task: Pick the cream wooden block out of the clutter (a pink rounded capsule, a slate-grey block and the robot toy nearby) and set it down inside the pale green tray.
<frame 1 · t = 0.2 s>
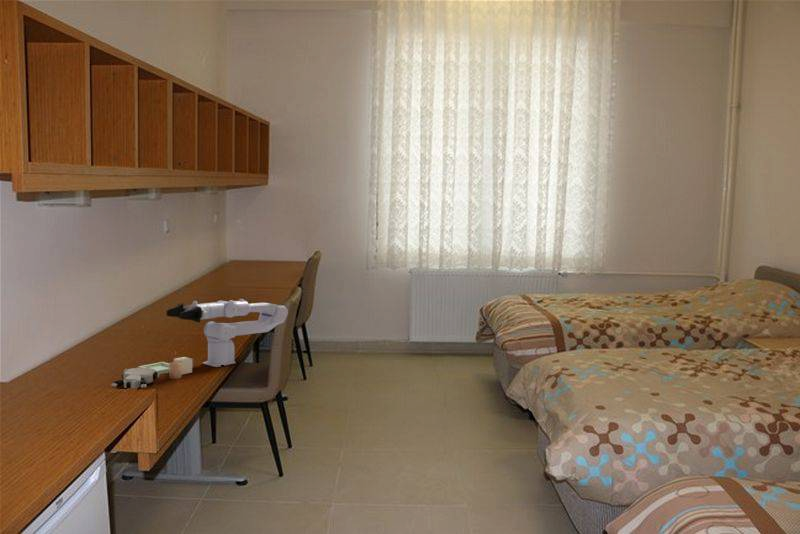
hand: (173, 314, 249), 21 cm above the table, tool horizontal, fingers open, 7 cm apart
tray: (158, 370, 254), on the table
slate block: (185, 368, 259), on the table
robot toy: (136, 386, 234), on the table
cream block: (182, 372, 253), on the table
pink rounded capsule: (175, 377, 246), on the table
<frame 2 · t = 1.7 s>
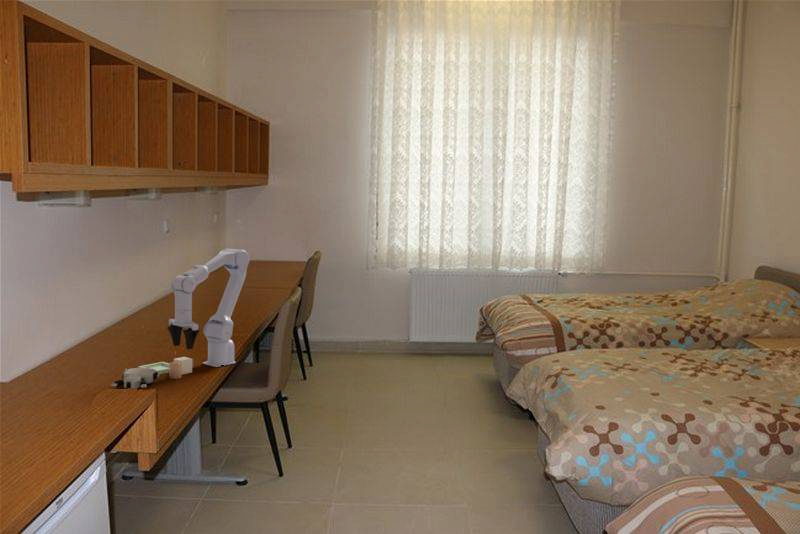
hand: (183, 347, 252), 9 cm above the table, tool pointing down, fingers open, 7 cm apart
nothing on the table moved.
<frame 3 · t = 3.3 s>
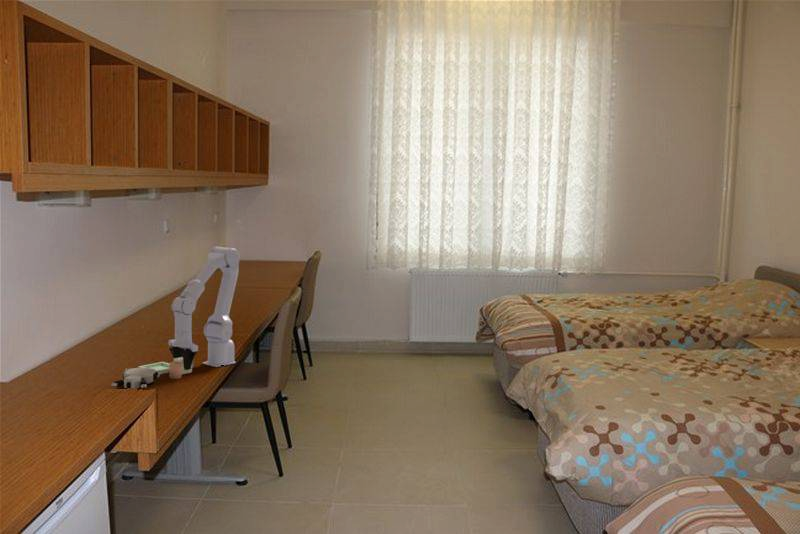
hand: (183, 368, 253), 1 cm above the table, tool pointing down, fingers closed on cream block, 4 cm apart
cream block: (182, 372, 253), on the table, touching gripper
everything else where it was.
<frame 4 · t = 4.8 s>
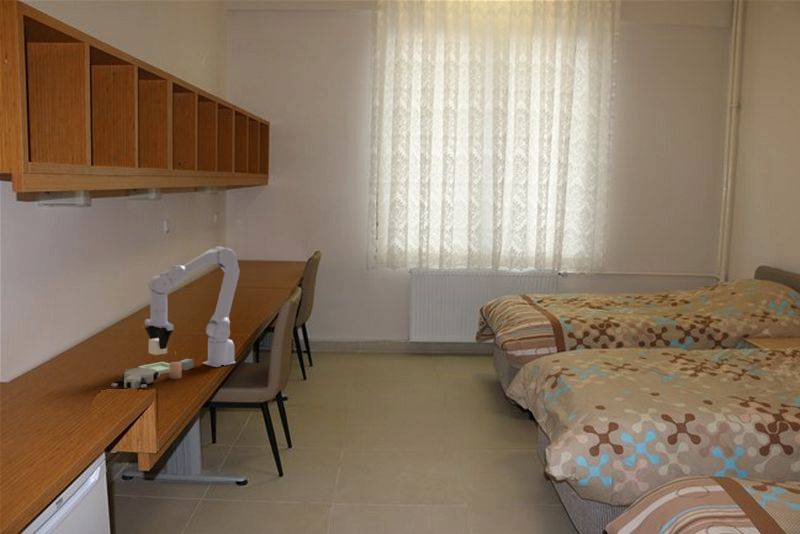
hand: (158, 347, 254), 8 cm above the table, tool pointing down, fingers closed on cream block, 4 cm apart
cream block: (157, 353, 253), point 6 cm above the table, touching gripper
everything else where it was.
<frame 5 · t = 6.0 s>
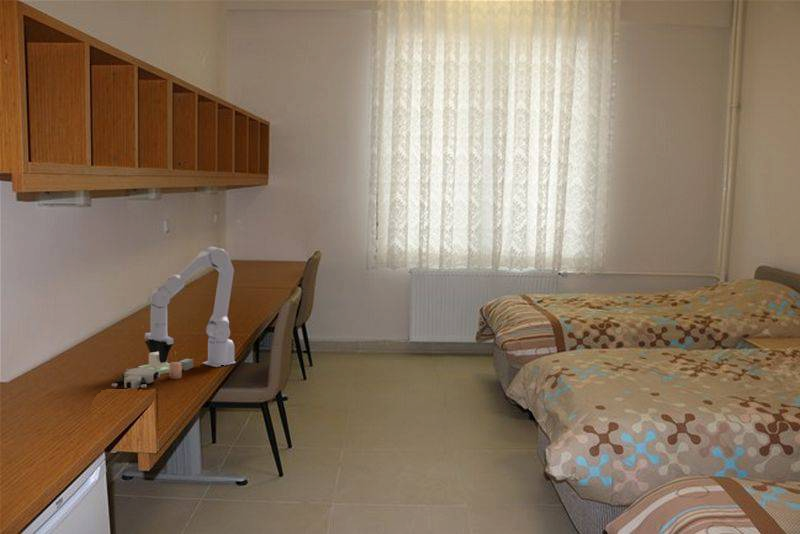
hand: (158, 361, 254), 3 cm above the table, tool pointing down, fingers closed on cream block, 4 cm apart
cream block: (157, 366, 254), point 1 cm above the table, touching gripper
everything else where it was.
when the fingers open (3 cm above the table, at t = 6.5 s): cream block stays where it is, resting on tray.
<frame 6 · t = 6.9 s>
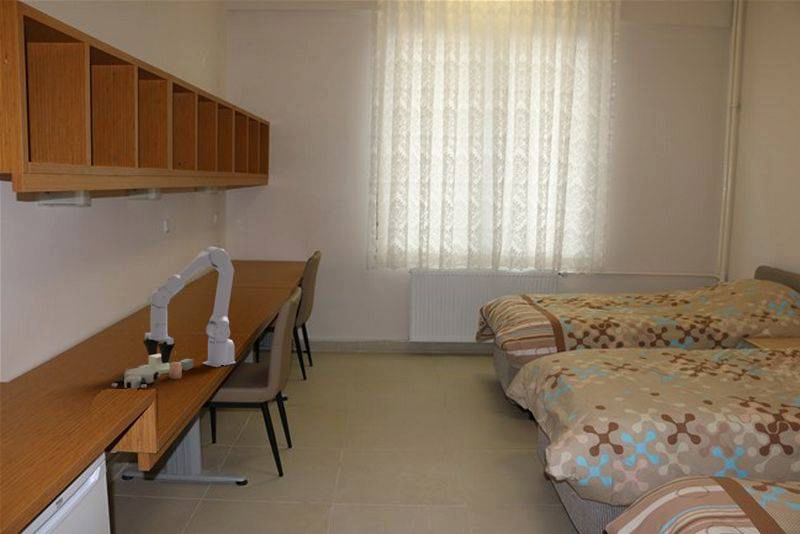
hand: (158, 360, 254), 3 cm above the table, tool pointing down, fingers open, 7 cm apart
cream block: (157, 369, 254), resting on tray
everything else where it was.
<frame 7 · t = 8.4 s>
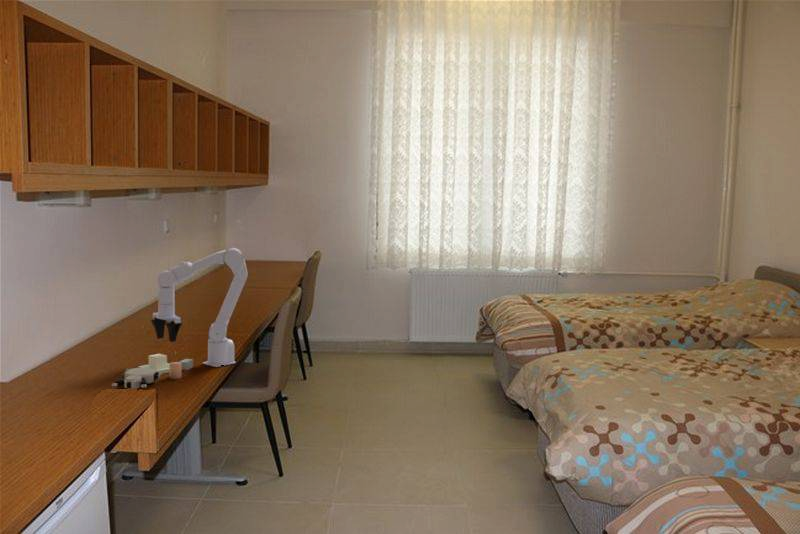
hand: (166, 339, 262), 9 cm above the table, tool pointing down, fingers open, 7 cm apart
nothing on the table moved.
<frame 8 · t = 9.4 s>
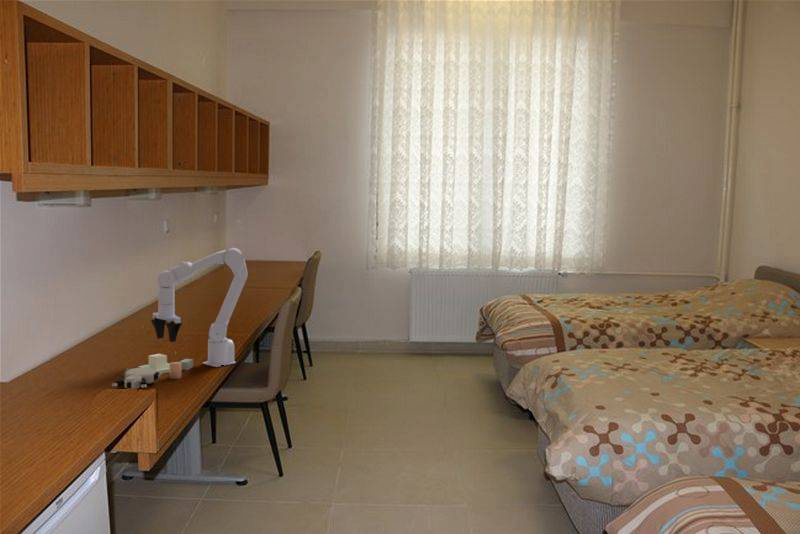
hand: (166, 339, 262), 9 cm above the table, tool pointing down, fingers open, 7 cm apart
nothing on the table moved.
at the end: cream block inside the target area on the tray (0.4 cm from its centre), point 0.4 cm above the tray's base; cream block tilted 0°; the gripper is holding nothing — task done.
